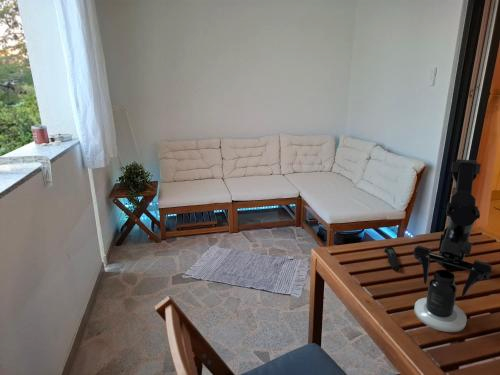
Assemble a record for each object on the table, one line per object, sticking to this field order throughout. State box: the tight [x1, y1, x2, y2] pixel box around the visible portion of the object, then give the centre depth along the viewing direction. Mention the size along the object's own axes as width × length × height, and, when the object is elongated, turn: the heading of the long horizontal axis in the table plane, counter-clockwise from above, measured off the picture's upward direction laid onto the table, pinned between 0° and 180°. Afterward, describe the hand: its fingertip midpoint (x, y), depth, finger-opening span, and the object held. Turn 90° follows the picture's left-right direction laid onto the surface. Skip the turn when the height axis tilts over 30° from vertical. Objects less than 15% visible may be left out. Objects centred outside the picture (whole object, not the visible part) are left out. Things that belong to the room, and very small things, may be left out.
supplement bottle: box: [426, 269, 458, 317], centre depth 92 cm, size 7×7×12 cm
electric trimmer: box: [384, 246, 401, 271], centre depth 123 cm, size 4×16×3 cm, turn 167°
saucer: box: [413, 297, 468, 333], centre depth 93 cm, size 13×13×2 cm
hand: (443, 289), depth 90 cm, fingers open, 9 cm apart
